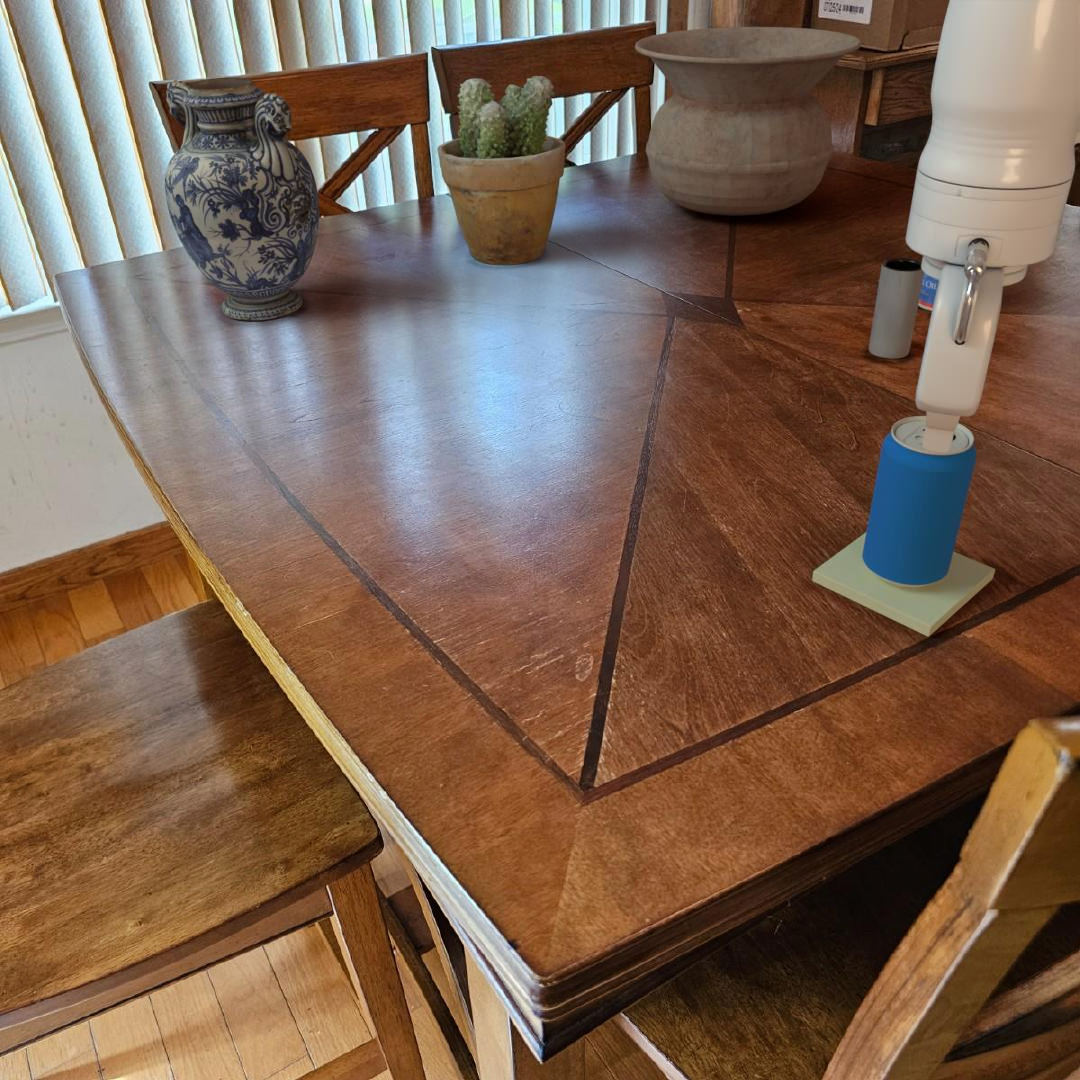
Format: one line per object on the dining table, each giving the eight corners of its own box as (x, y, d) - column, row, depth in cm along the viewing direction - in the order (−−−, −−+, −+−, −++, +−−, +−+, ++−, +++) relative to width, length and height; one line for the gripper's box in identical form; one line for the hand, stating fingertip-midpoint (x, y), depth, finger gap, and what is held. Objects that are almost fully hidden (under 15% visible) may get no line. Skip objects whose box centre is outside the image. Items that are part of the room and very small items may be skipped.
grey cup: (875, 360, 113) (889, 271, 107) (863, 344, 116) (876, 258, 111) (914, 358, 113) (931, 269, 107) (901, 342, 116) (916, 256, 111)
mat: (992, 579, 78) (995, 568, 77) (928, 637, 72) (931, 626, 72) (878, 530, 84) (880, 520, 83) (811, 581, 78) (813, 570, 78)
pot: (752, 252, 145) (769, 66, 131) (589, 209, 167) (589, 46, 153) (879, 203, 164) (906, 36, 150) (718, 170, 185) (728, 21, 171)
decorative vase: (369, 298, 135) (339, 75, 119) (269, 345, 122) (221, 102, 107) (260, 274, 145) (219, 65, 129) (157, 315, 132) (98, 89, 117)
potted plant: (432, 271, 143) (414, 85, 129) (463, 233, 158) (450, 62, 144) (556, 275, 140) (552, 84, 126) (576, 235, 155) (573, 61, 141)
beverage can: (965, 576, 76) (1000, 439, 70) (905, 603, 74) (935, 464, 67) (902, 537, 81) (929, 405, 74) (843, 561, 79) (866, 427, 72)
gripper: (1037, 277, 53) (982, 497, 61) (1038, 181, 68) (994, 366, 76) (914, 266, 55) (876, 480, 63) (942, 176, 70) (909, 356, 78)
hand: (941, 416), depth 70 cm, fingers open, 8 cm apart
